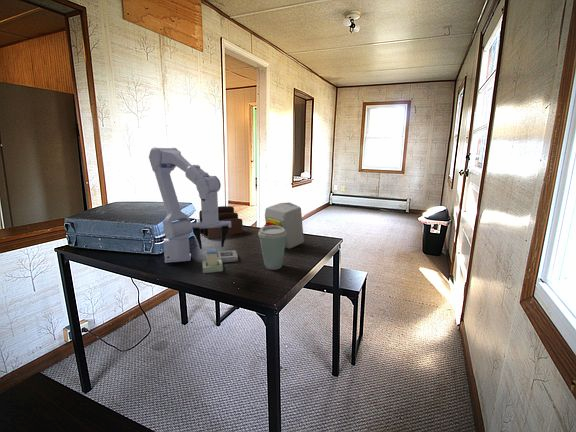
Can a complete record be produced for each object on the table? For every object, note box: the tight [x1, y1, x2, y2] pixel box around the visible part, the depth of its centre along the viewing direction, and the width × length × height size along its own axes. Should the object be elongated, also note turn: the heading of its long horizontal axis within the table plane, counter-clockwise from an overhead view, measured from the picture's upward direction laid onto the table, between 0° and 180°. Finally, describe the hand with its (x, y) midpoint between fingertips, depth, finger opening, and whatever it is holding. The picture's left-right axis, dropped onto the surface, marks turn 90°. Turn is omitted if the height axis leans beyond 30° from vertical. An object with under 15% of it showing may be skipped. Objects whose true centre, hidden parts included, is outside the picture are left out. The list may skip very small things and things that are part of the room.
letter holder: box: [198, 205, 244, 240], centre depth 155 cm, size 10×20×14 cm, turn 129°
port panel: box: [205, 249, 239, 264], centre depth 120 cm, size 12×8×2 cm, turn 106°
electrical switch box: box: [263, 202, 305, 250], centre depth 137 cm, size 14×15×20 cm
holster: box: [201, 259, 224, 274], centre depth 110 cm, size 7×7×2 cm
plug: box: [206, 248, 218, 266], centre depth 110 cm, size 4×4×7 cm
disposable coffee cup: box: [257, 225, 287, 270], centre depth 111 cm, size 11×11×15 cm
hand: (211, 247), depth 109 cm, fingers open, 7 cm apart
